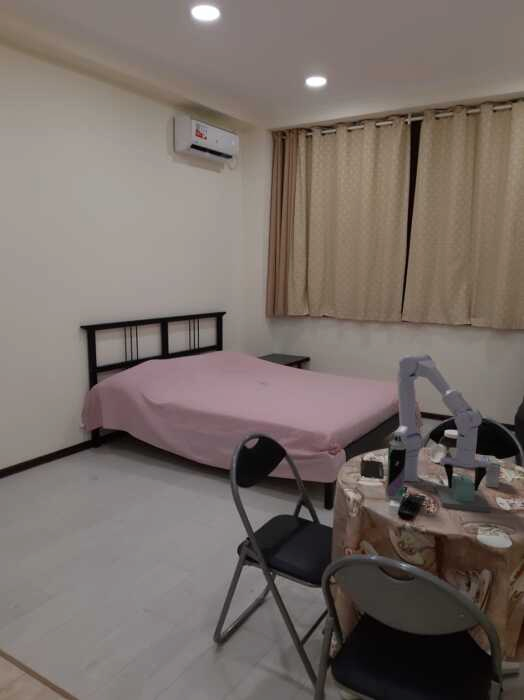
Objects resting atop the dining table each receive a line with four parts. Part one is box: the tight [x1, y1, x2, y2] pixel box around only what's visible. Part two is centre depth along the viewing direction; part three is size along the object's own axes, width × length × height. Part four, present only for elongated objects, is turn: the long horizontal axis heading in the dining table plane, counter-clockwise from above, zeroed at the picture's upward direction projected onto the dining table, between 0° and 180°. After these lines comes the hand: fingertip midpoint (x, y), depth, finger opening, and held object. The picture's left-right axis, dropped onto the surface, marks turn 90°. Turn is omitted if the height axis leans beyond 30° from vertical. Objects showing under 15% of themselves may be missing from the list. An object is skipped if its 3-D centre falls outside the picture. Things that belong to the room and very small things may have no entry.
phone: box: [359, 459, 384, 479], centre depth 185 cm, size 8×1×15 cm
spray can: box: [385, 435, 406, 500], centre depth 162 cm, size 6×6×20 cm
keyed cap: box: [451, 474, 475, 502], centre depth 160 cm, size 5×8×5 cm
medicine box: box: [481, 455, 501, 489], centre depth 174 cm, size 8×4×9 cm, turn 168°
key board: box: [435, 484, 492, 513], centre depth 160 cm, size 14×14×5 cm
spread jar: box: [429, 429, 458, 464], centre depth 194 cm, size 12×11×12 cm
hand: (462, 488), depth 160 cm, fingers open, 7 cm apart
